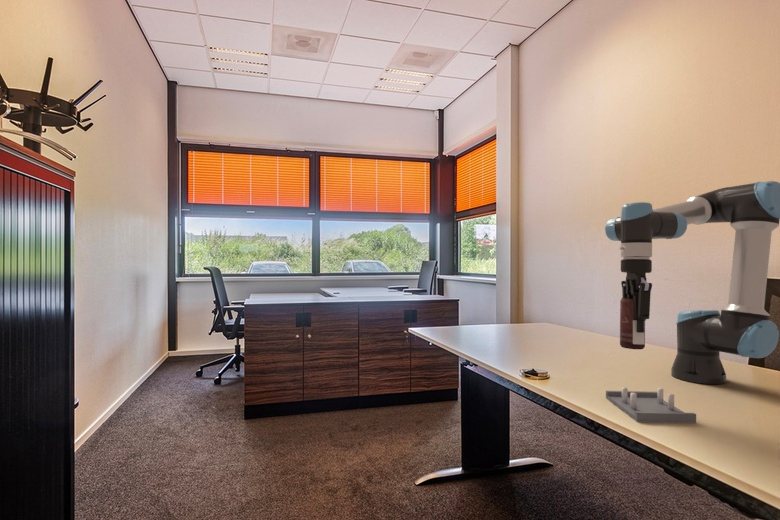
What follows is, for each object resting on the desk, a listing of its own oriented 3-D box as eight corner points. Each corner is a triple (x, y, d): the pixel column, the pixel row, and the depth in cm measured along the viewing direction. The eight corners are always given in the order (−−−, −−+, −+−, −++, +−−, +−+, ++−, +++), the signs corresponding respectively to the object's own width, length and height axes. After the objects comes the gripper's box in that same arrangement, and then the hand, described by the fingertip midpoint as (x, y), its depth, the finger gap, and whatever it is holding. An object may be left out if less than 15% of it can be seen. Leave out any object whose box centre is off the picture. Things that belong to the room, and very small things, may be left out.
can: (637, 350, 115) (637, 299, 115) (615, 346, 121) (615, 297, 121) (650, 348, 118) (651, 298, 118) (628, 344, 123) (628, 296, 123)
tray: (656, 399, 122) (656, 382, 122) (696, 423, 104) (696, 402, 104) (605, 398, 123) (605, 380, 123) (636, 421, 105) (636, 401, 105)
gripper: (610, 258, 127) (609, 337, 126) (634, 258, 110) (634, 348, 110) (636, 259, 126) (636, 338, 125) (665, 258, 110) (665, 349, 109)
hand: (635, 342), depth 118 cm, fingers open, 3 cm apart
